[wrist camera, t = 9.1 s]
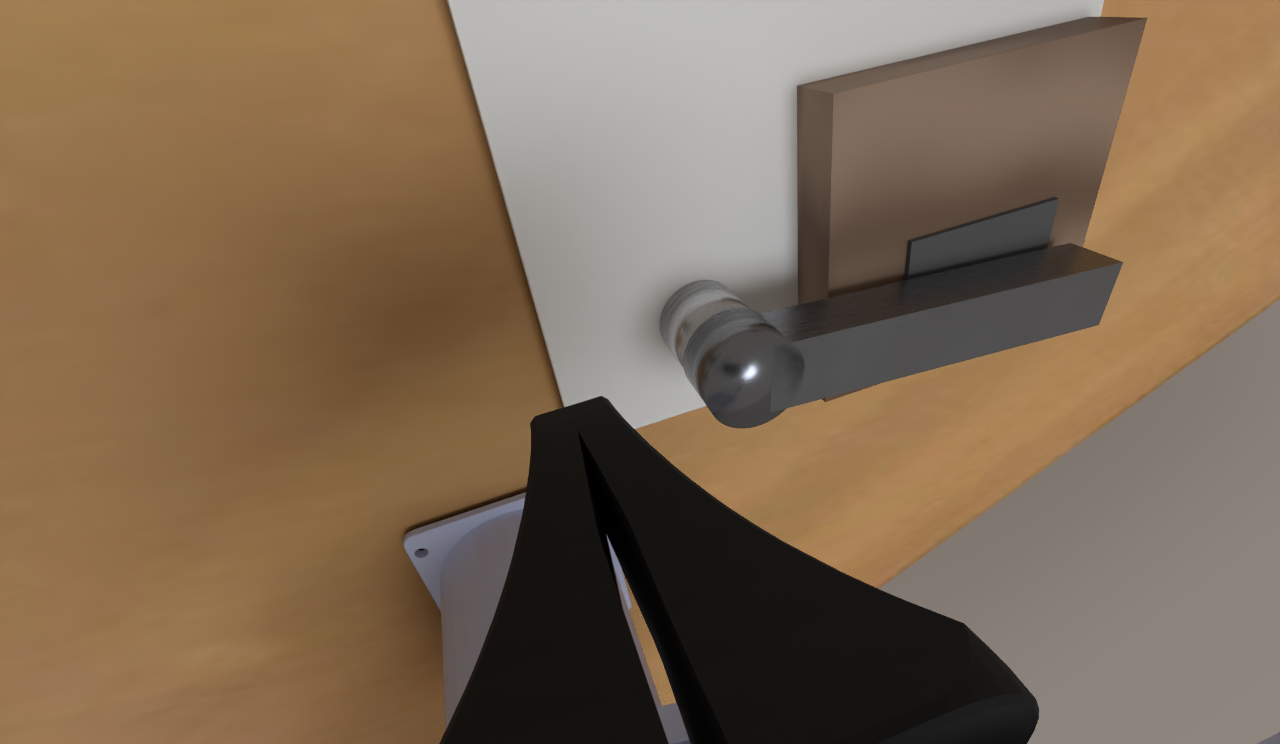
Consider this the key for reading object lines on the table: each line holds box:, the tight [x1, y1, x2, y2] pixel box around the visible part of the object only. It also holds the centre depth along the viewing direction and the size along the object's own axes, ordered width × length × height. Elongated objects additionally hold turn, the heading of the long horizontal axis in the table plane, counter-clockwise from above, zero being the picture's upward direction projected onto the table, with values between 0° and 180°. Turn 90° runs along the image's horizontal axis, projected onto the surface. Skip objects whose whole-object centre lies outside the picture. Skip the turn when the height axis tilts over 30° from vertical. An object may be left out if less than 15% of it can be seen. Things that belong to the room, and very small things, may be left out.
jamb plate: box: [447, 0, 1104, 429], centre depth 19 cm, size 20×21×1 cm
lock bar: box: [683, 243, 1123, 428], centre depth 20 cm, size 15×3×2 cm, turn 95°
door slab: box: [797, 17, 1147, 402], centre depth 22 cm, size 11×11×2 cm
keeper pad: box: [904, 197, 1059, 281], centre depth 22 cm, size 4×6×1 cm, turn 99°
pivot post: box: [660, 280, 750, 368], centre depth 21 cm, size 3×3×2 cm
